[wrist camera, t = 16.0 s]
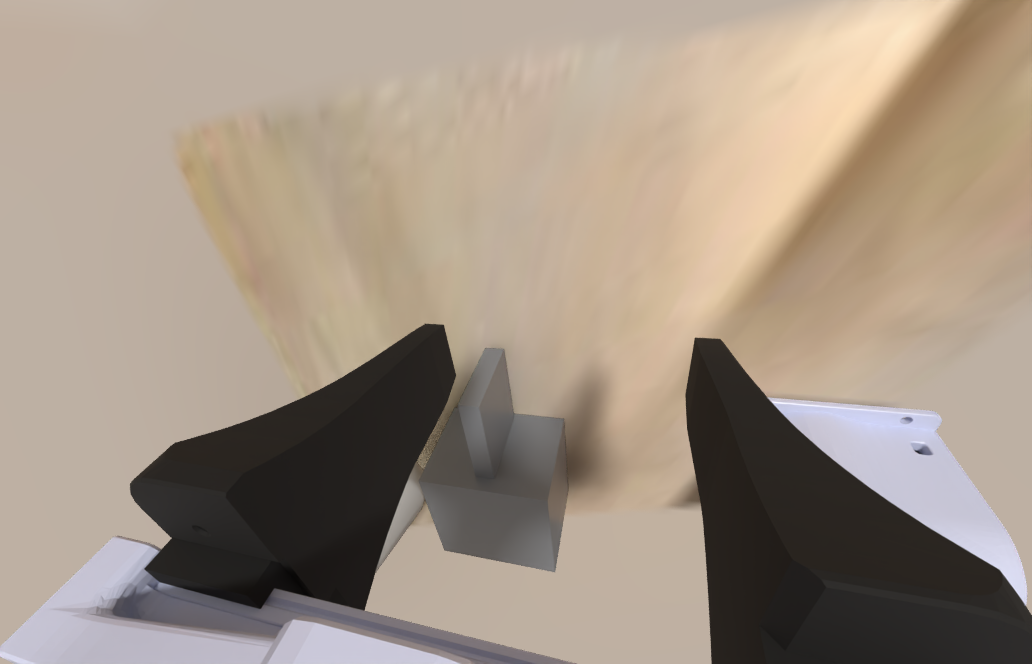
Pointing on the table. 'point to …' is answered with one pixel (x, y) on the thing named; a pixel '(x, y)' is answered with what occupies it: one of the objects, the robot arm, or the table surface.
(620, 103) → the table surface
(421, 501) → the salt shaker
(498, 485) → the grey block with fin
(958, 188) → the table surface
